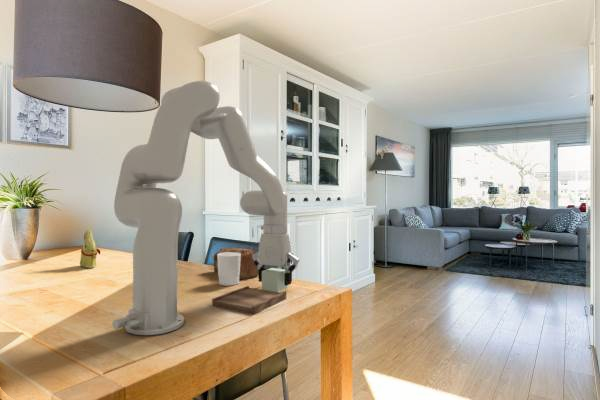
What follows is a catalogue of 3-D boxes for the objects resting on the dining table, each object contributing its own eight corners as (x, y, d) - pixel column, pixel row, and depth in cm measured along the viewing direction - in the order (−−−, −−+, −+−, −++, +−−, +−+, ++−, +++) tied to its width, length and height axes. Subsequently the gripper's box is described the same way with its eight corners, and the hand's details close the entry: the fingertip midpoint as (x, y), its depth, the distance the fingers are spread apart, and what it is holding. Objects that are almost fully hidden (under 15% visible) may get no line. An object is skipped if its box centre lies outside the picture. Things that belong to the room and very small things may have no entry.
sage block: (277, 292, 115) (277, 273, 115) (261, 289, 118) (261, 271, 118) (287, 288, 121) (287, 269, 121) (271, 285, 124) (271, 267, 123)
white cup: (235, 287, 121) (235, 256, 121) (213, 285, 123) (213, 255, 123) (244, 281, 129) (244, 252, 129) (222, 280, 130) (222, 251, 130)
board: (254, 314, 94) (254, 306, 94) (212, 305, 101) (212, 298, 101) (286, 298, 108) (286, 292, 108) (247, 292, 115) (247, 286, 115)
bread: (260, 277, 136) (261, 250, 136) (234, 281, 130) (235, 252, 130) (236, 268, 151) (236, 244, 151) (211, 271, 145) (212, 246, 144)
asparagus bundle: (85, 270, 144) (85, 231, 144) (77, 266, 152) (77, 229, 151) (104, 267, 149) (104, 230, 148) (95, 263, 157) (95, 228, 156)
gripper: (246, 229, 120) (245, 282, 120) (293, 232, 112) (292, 289, 112) (259, 227, 127) (259, 277, 127) (304, 230, 118) (303, 283, 119)
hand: (274, 282), depth 120 cm, fingers open, 9 cm apart
